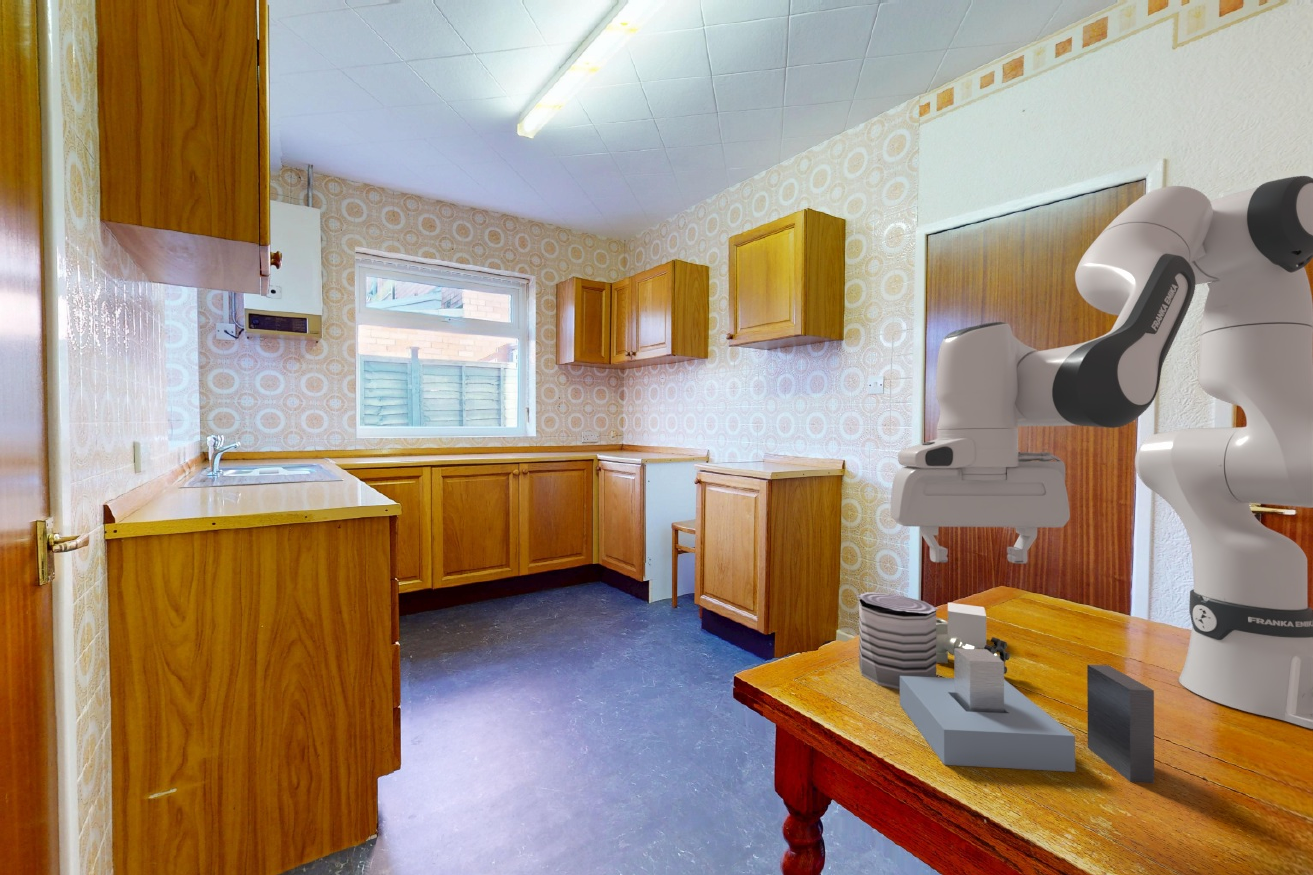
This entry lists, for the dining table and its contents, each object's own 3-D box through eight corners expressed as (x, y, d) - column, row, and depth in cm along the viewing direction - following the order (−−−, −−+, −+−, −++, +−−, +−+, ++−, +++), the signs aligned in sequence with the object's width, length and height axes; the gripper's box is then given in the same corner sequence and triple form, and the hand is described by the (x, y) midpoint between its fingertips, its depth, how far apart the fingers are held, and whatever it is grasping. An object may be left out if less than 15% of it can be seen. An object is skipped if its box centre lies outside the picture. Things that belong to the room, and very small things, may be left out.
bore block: (1005, 709, 74) (1005, 679, 74) (1075, 771, 60) (1075, 735, 60) (899, 704, 75) (899, 675, 75) (944, 764, 61) (944, 729, 61)
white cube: (986, 650, 95) (986, 616, 95) (947, 643, 98) (947, 611, 98) (984, 638, 100) (984, 606, 100) (947, 633, 103) (947, 602, 103)
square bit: (986, 726, 69) (986, 649, 69) (1004, 744, 65) (1004, 661, 65) (954, 725, 69) (954, 648, 69) (970, 742, 65) (969, 660, 65)
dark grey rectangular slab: (1108, 748, 64) (1108, 665, 64) (1154, 783, 58) (1153, 690, 58) (1087, 747, 64) (1087, 664, 64) (1130, 781, 58) (1129, 689, 58)
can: (846, 660, 90) (846, 589, 90) (911, 659, 91) (911, 588, 91) (879, 692, 78) (878, 610, 78) (953, 690, 79) (953, 609, 79)
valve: (913, 659, 91) (988, 687, 80) (913, 620, 91) (987, 643, 80) (935, 651, 94) (1010, 677, 84) (935, 613, 94) (1009, 634, 84)
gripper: (1047, 451, 70) (1049, 557, 70) (885, 452, 71) (886, 555, 71) (1081, 452, 63) (1083, 569, 63) (903, 453, 65) (904, 566, 65)
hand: (977, 561), depth 67 cm, fingers open, 8 cm apart
